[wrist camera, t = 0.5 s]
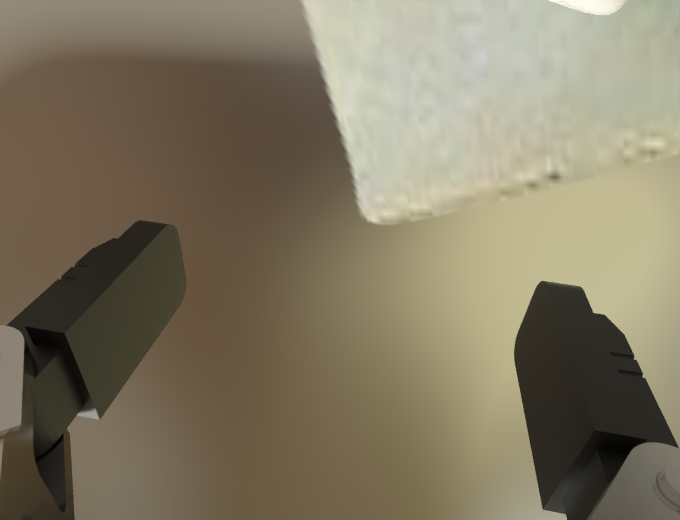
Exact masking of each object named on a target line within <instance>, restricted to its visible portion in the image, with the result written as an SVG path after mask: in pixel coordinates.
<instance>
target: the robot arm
mask: <svg viewBox="0 0 680 520" xmlns="http://www.w3.org/2000/svg"><path fill="white" fill-rule="evenodd" d="M185 289H186V276H185V270H184V264H183V258H182V252H181V246H180V240H179V235H178V231H177V229H176V227H175V226H173V225H170V224H163V223H157V222H150V221H143V220H139V221H137V222H135V223H134V224H133V225H132V226H131V227H130V228H129V229H128V230H127V231H125V232H124V233H123V234H122V235H121V236H120V237H119V238H118V239H116V238H113V239H111V240H109V241H107V242H105V243H103V244H101V245H99V246H97V247H96V248H93V249H91V250H90V251H89V252H88V253H87V254H86V255H85V256H83V257H82V258H81V259H80V260H79V261H78V262H77V263H76V264H75V267H71V268H70V269H69V270H68V271H67V272H66V273H64V274H63V275H62V278H61V280H59V279H58V280H57V281H55V282H54V283H53V284H52V285H51V286H50V287H49V288H48V289H47V290H46V291H44V292H43V293H42V294H41V295H40V296H39V297H38V298H37V299H35V300H34V301H33V302H32V303H31V304H30V305H29V306H28V307H27V308H25V309H24V310H23V311H22V312H21V313H20V314H19V315H18V316H16V317H15V318H14V319H13V320H12V321H11V322H10V323H9V324H8V325H6V326H4V325H0V520H75V514H74V495H73V477H72V459H71V441H70V433H69V431H68V429H67V427H68V426H69V425H70V423H71V422H72V420H73V419H74V418H75V417H76V415H78V416H83V417H88V418H93V419H98V420H100V419H101V417H102V416H103V414H104V413H105V411H106V410H107V409H108V407H109V406H110V404H111V403H112V402H113V400H114V399H115V397H116V396H117V394H118V393H119V392H120V390H121V389H122V387H123V386H124V384H125V383H126V382H127V380H128V379H129V377H130V376H131V374H132V373H133V372H134V370H135V369H136V367H137V366H138V364H139V363H140V362H141V360H142V359H143V357H144V356H145V354H146V353H147V352H148V350H149V349H150V347H151V346H152V344H153V343H154V342H155V340H156V339H157V337H158V336H159V335H160V333H161V332H162V330H163V329H164V327H165V326H166V324H167V323H168V322H169V320H170V319H171V317H172V316H173V315H174V313H175V312H176V310H177V309H178V307H179V306H180V304H181V302H182V300H183V298H184V294H185ZM514 359H515V366H516V371H517V377H518V382H519V387H520V392H521V398H522V403H523V408H524V413H525V419H526V424H527V429H528V434H529V440H530V445H531V449H532V455H533V460H534V466H535V471H536V476H537V481H538V487H539V492H540V497H541V503H542V508H543V510H548V511H553V512H558V513H563V514H566V516H567V520H680V449H679V447H678V445H677V443H676V441H675V439H674V437H673V435H672V433H671V431H670V429H669V427H668V425H667V423H666V420H665V418H664V416H663V414H662V412H661V410H660V408H659V406H658V404H657V402H656V400H655V398H654V395H653V394H652V391H651V389H650V387H649V385H648V383H647V381H646V379H645V378H643V377H642V375H643V373H642V371H641V369H640V367H639V364H638V362H637V361H636V360H634V354H633V352H632V350H631V348H630V346H629V344H628V342H627V340H626V337H625V335H624V334H623V333H622V332H621V331H620V330H619V329H618V328H617V327H616V326H615V325H614V324H613V323H612V322H611V321H610V320H609V319H608V318H607V317H606V316H605V315H602V314H595V313H593V311H592V309H591V306H590V304H589V302H588V299H587V297H586V295H585V292H584V290H583V289H582V288H581V287H580V286H573V285H566V284H559V283H553V282H546V281H541V282H540V283H539V284H538V285H537V287H536V289H535V292H534V294H533V296H532V299H531V301H530V304H529V306H528V309H527V311H526V314H525V316H524V319H523V321H522V324H521V326H520V329H519V331H518V334H517V337H516V341H515V349H514Z"/></svg>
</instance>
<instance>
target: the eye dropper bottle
mask: <svg viewBox="0 0 680 520" xmlns="http://www.w3.org/2000/svg"><path fill="white" fill-rule="evenodd" d="M549 1H552V2H555V3H558V4H560V5H563V6H566V7H569V8H572V9H575V10H578V11H582V12H585V13H590V14H595V15H609V14H613V13H614V12H616V11H617V10H618V9H620V8H621V7H622V6H623V5H624V4H625V2H626V1H627V0H549Z"/></svg>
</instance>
